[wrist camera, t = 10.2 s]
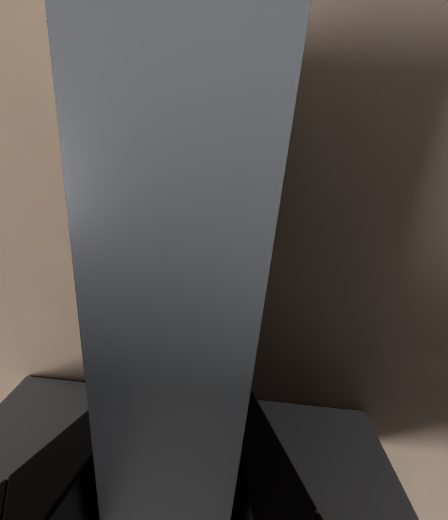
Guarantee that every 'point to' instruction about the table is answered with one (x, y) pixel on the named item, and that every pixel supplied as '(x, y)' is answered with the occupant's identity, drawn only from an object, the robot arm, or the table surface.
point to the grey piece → (181, 260)
